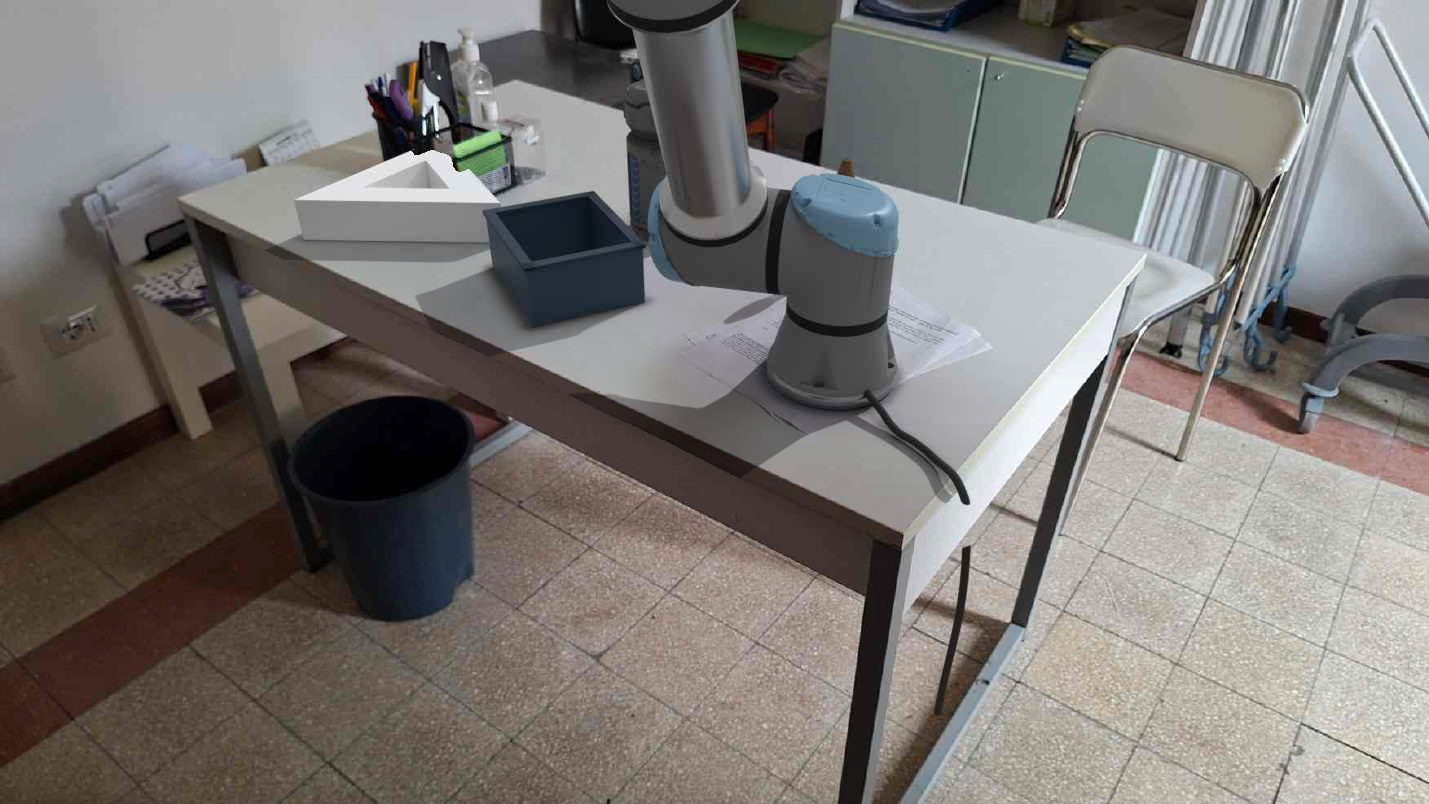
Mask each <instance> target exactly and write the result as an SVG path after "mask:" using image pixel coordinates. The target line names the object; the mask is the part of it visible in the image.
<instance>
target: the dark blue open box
mask: <svg viewBox="0 0 1429 804" xmlns="http://www.w3.org/2000/svg"><path fill="white" fill-rule="evenodd" d="M483 215H484V216H485V218H486V221H487V228H488V236H489V243H488V244H489V250H490V258H491V265H492V269H493V270H494V271H495V273H496V274H497V276H498V278H499V279H500V280H501V282H502V283H503V285H504V286H505V288H506V289H507V291H508V293H509V294H510V296H511V297H512V298H513V300H514V302H515V303H516V304H517V306H518V308H519V309H520V311H521V312H522V314H523V315H524V316H525V319H526V320H527V321H528V323H529V324H530V326H531V327H532V328H536V327H542V326H545V325H550V324H554V323H559V322H563V321H569V320H572V319H575V318H580V317H584V316H585V317H586V316H589V315H593V314H594V315H595V314H599V313H603V312H608V311H612V310H616V309H621V308H625V307H629V306H634V305H638V304H639V305H640V304H643V303H645V302H646V293H645V265H644V264H645V263H644V250H645V249H647V243H646V242H644V240H643V239H641V237H640V236H639V235H638V234H636V233H635V231H634V230H633V228H632V227H630V226H629V225H628V224H627V223H626V222H625V220H623V219H622V218H621V217H620V216H619V215H618V214H617V213H616V212H615V211H614V210H613V209H612V208H611V206H609V205H608V204H607V203H606V202H605V201H604V200H603V198H601V197H600V195H599V194H598V193H597V192H596V191H595V190H590V191H584V192H579V193H574V194H568V195H562V196H556V197H551V198H550V197H549V198H544V199H540V200H539V199H538V200H533V201H527V202H522V203H516V204H512V205H506V206H501V207H499V208H493V209H488V210H483Z"/></svg>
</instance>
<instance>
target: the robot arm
mask: <svg viewBox="0 0 1429 804" xmlns="http://www.w3.org/2000/svg"><path fill="white" fill-rule="evenodd" d="M739 2H740V0H606V3H607V6H608V8H609V11H610V12H611V13H612V15H613V16H614V17H615V18H616V19H617V21H618V22H620V23H621V24H623V25H624V26H626V27H627V28H629V29H631V30H632V33H633V38H634V42H635V46H636V50H637V55H638V58H639V59H640V63H641V68H642V72H643V76H644V80H645V84H646V89H647V93H648V97H649V101H650V105H651V110H652V114H653V118H654V122H655V126H656V131H657V135H658V139H659V143H660V147H661V152H662V156H663V160H664V164H665V168H666V173H667V175H666V177H665V178H664V180H663V181H661V182H660V183H659V184H658V186H657V187H656V189H655V191H654V193H653V195H652V199H651V202H650V207H649V213H648V232H649V233H650V239H648V248H649V253H650V257H651V259H652V262H653V264H654V266H655V268H656V270H657V271H658V273H659V274H660V275H662V276H663V277H664V278H665V279H666V280H669V281H671V282H677V283H681V284H682V283H683V284H685V285H686V286H687V285H688V286H691V287H707V288H716V289H723V290H733V291H740V292H741V291H742V292H748V293H749V292H750V293H758V294H766V295H776V296H781V297H782V296H784V297H786V300H785V301H786V302H785V313H784V316H783V319H782V321H781V324H780V326H779V328H778V330H777V333H776V335H775V338H774V340H773V343H772V344H771V346H770V347H769V351H768V354H767V360H766V361H767V362H766V363H767V365H766V373H767V374H766V375H767V378H768V380H769V383H770V384H771V385H772V386H773V387H774V388H775V389H776V391H778V392H779V393H780V394H781V395H783V396H784V397H786V398H788V399H790V400H792V401H794V402H796V403H799V404H801V405H805V406H809V407H813V408H819V409H825V410H851V409H857V408H862V407H866V406H870V405H871V406H872V407H873V408H874V410H875V411H876V412H877V414H878V415H879V417H880V418H881V421H882V422H883V423H884V424H885V425H886V427H887V428H888V429H889V431H891V433H892V434H894V436H896V437H898V438H899V439H901V440H902V441H904V442H906V443H907V444H909V445H911V446H912V447H914V448H915V449H917V450H918V451H919V452H920V453H922V454H923V456H925V457H926V458H927V459H928V460H929V461H930V462H932V463H933V464H934V465H935V466H936V467H937V468H938V469H940V470H941V471H942V472H943V473H945V474H946V475H947V477H948V479H950V480H951V482H952V484H953V485H954V487H955V489H956V492H957V494H958V497H959V500H960V502H961V504H962V505H964V506H970V505H971V499H970V496H969V494H968V490H967V488H966V486H965V483H964V481H963V480H962V478H961V476H960V475H959V473H958V472H957V471H956V470H955V469H954V468H953V467H952V466H951V465H950V464H949V463H947V462H946V461H945V460H944V459H942V458H941V457H939V456H938V455H937V453H935V452H934V451H933V450H932V449H930V448H929V447H928V445H926V444H924V443H923V442H922V441H921V440H919V439H917V438H916V437H915V436H913V435H912V434H909V433H908V432H906V431H904V430H903V429H901V428H900V427H899V426H898V425H897V424H896V422H895V421H894V420H893V418H892V417H891V416H890V414H889V413H888V411H887V409H886V408H885V407H884V406H883V405H882V403H881V402H880V401H881V400H883V399H884V398H885V397H887V396H888V395H889V394H890V392H892V390H893V388H894V386H895V384H896V378H897V369H898V363H897V359H896V354H895V349H894V345H893V340H892V336H891V333H890V329H889V323H888V316H889V309H890V300H891V291H892V284H893V283H892V281H893V273H894V265H895V257H896V253H897V251H898V248H899V243H900V242H899V241H900V240H899V237H898V234H899V233H898V231H899V218H900V217H899V210H898V207H897V205H896V203H895V201H894V200H893V198H891V196H889V195H888V194H887V193H886V192H885V191H883V190H881V188H879V187H878V186H876V185H874V184H872V183H870V182H868V181H865V180H863V179H860V178H856V177H855V178H853V177H849V176H844V175H838V174H837V173H821V174H820V175H818V174H816V173H815V174H814V173H813V174H809V175H805V176H802V177H800V178H799V179H798V180H797V181H795V183H794V185H793V186H792V188H791V189H783V188H777V187H768V183H767V179H766V176H765V175H764V173H763V171H762V169H761V168H760V167H759V166H758V164H756V163H755V162H754V161H753V160H752V159H750V151H749V143H748V135H747V134H748V133H747V126H746V125H747V124H746V118H745V109H744V101H743V100H744V99H743V92H742V85H741V75H740V68H739V59H738V49H737V41H736V34H735V33H736V32H735V26H734V25H735V24H734V17H733V10H734V8H735V7H736V6H737V4H738V3H739ZM971 551H972V545H971V544H969V545H966V546H963V547H961V558H960V572H959V584H958V592H957V600H956V607H955V613H954V618H953V623H952V628H951V632H950V636H949V641H948V645H947V649H946V654H945V658H944V662H943V667H942V671H941V675H940V679H939V683H938V688H937V693H936V698H935V703H934V709H933V715H934V716H936V717H940V716H942V713H943V707H944V702H945V697H946V693H947V688H948V683H949V679H950V675H951V671H952V666H953V663H954V659H955V655H956V650H957V648H958V647H957V646H958V642H959V638H960V634H961V629H962V624H963V619H964V614H965V609H966V603H967V596H968V588H969V579H970V569H971V568H970V567H971Z"/></svg>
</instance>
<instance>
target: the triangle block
mask: <svg viewBox="0 0 1429 804" xmlns="http://www.w3.org/2000/svg"><path fill="white" fill-rule="evenodd" d="M293 202H294V207H295V210H296V214H297V219H298V222H299V227H300V231H301V234H302V239H303V240H304V241H343V242H344V241H345V242H346V241H347V242H348V241H349V242H350V241H351V242H354V241H355V242H413V243H418V242H420V243H475V244H478V243H480V244H481V243H483V244H490V243H489V236H488V228H487V221H486V218H485V216H484V215H483V210H488V209H493V208H499V207H502V205H501V202H500V201H499V200H498V198H497V197H496V196H495V195H494V194H493V193H492V192H491V191H490V190H489V188H488V187H487V186H485V185H484V183H483V182H482V181H481V180H480V179H479V178H478V177H477V176H476V174H474V172H473V171H471V169H470V168H469V169H467V170H465V171H462V172H458V171H456V170H455V168H454V167H453V162H452V159H451V157H450V156H449V155H447V154H444V153H440V152H437V151H435V150H430V151H427V152H425V153H422V154H420V155H414V153H413V152H412V151H411V150H409V151H407V152H404V153H402V154H399V155H398V156H395V157H392V158H389V159H388V160H386V161H384V162H380V163H378V164H376V165H373V166H371V167H368V168H367V169H364V170H362V171H359V172H357V173H355V174H353V175H350V176H347V177H345V178H342V179H340V180H338V181H336V182H333V183H331V184H328V185H325V186H323V187H321V188H318V189H316V190H314V191H312V192H310V193H307V194H305V195H302V196H300V197H297V198H295V199H293Z"/></svg>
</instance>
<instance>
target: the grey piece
mask: <svg viewBox="0 0 1429 804" xmlns="http://www.w3.org/2000/svg"><path fill="white" fill-rule="evenodd" d="M629 78H630V79H629V80H630V84H629V85H628V86H626V87H625V89H624V102H623V104H622V110H623V118H624V120H625V123H626V125H627V126H628V128H629V130H630V131H629V132H628V133H627V135H626V138H625V139H626V142H625V143H626V161H627V165H626V166H627V181H628V182H627V183H628V185H627V186H628V204H629V224H630V226H631V227H630V228H631V229H632V230H633V232H634V233H635V234H636V235H637V236H638V237H640V238H643V239H646V240H649V239H650V233H649V232H648V213H649V207H650V202H651V199H652V195H653V193H654V191H655V189H656V187H657V186H658V184H659V183H660V182H661V181H663V180H664V178H665V177H666V175H667V173H666V168H665V164H664V160H663V156H662V152H661V147H660V143H659V139H658V135H657V131H656V126H655V122H654V118H653V114H652V110H651V105H650V101H649V97H648V93H647V89H646V84H645V80H644V76H643V72H642V68H641V63H640V59H639V57H638V58H636V59H635V60H634V61H633V62H632V63H631V65H629Z"/></svg>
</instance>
